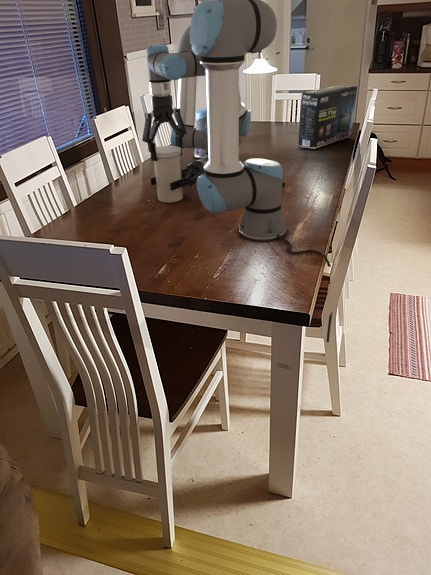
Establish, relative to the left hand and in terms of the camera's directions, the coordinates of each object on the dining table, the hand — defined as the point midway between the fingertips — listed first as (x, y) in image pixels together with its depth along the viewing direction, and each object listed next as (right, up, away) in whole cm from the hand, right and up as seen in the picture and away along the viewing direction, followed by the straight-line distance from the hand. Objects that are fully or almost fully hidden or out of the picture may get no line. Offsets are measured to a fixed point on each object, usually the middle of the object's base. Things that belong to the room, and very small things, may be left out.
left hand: (161, 184), depth 174 cm
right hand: (+2, +10, -2) cm, 10 cm away
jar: (+3, -4, +6) cm, 8 cm away
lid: (+2, +12, -3) cm, 13 cm away
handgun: (+44, +7, +21) cm, 49 cm away
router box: (+79, +38, +70) cm, 112 cm away
